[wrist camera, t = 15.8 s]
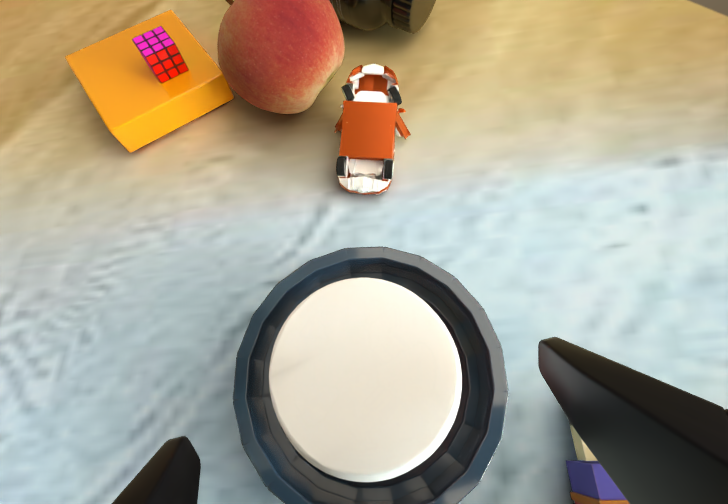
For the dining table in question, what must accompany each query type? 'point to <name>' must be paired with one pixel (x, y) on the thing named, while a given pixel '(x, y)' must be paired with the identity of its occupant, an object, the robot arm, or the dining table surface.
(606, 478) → the toy
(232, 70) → the apple
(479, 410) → the bowl
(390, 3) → the supplement bottle
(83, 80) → the orange square platform
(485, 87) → the dining table surface
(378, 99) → the toy car
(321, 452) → the pill bottle
